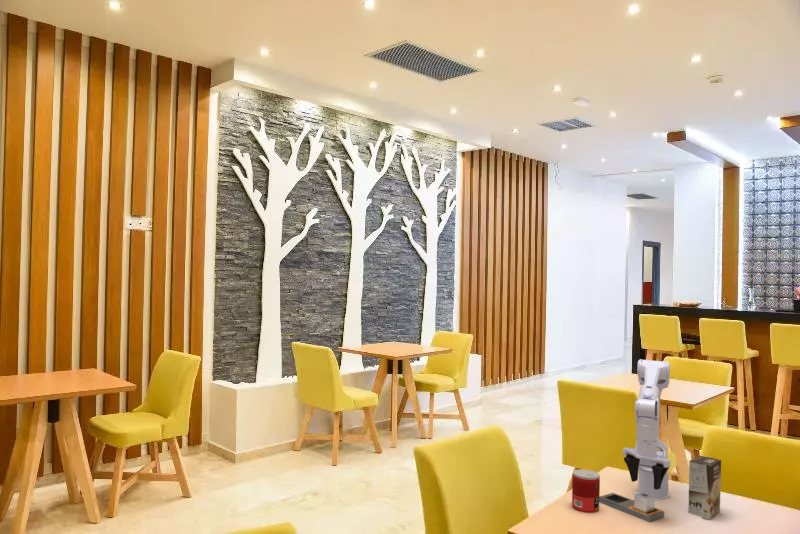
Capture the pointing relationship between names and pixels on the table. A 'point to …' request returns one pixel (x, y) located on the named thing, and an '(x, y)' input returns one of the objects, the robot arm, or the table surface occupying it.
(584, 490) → the canned food
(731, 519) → the table surface
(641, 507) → the silver square slider
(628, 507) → the rail
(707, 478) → the coffee box
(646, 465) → the robot arm
